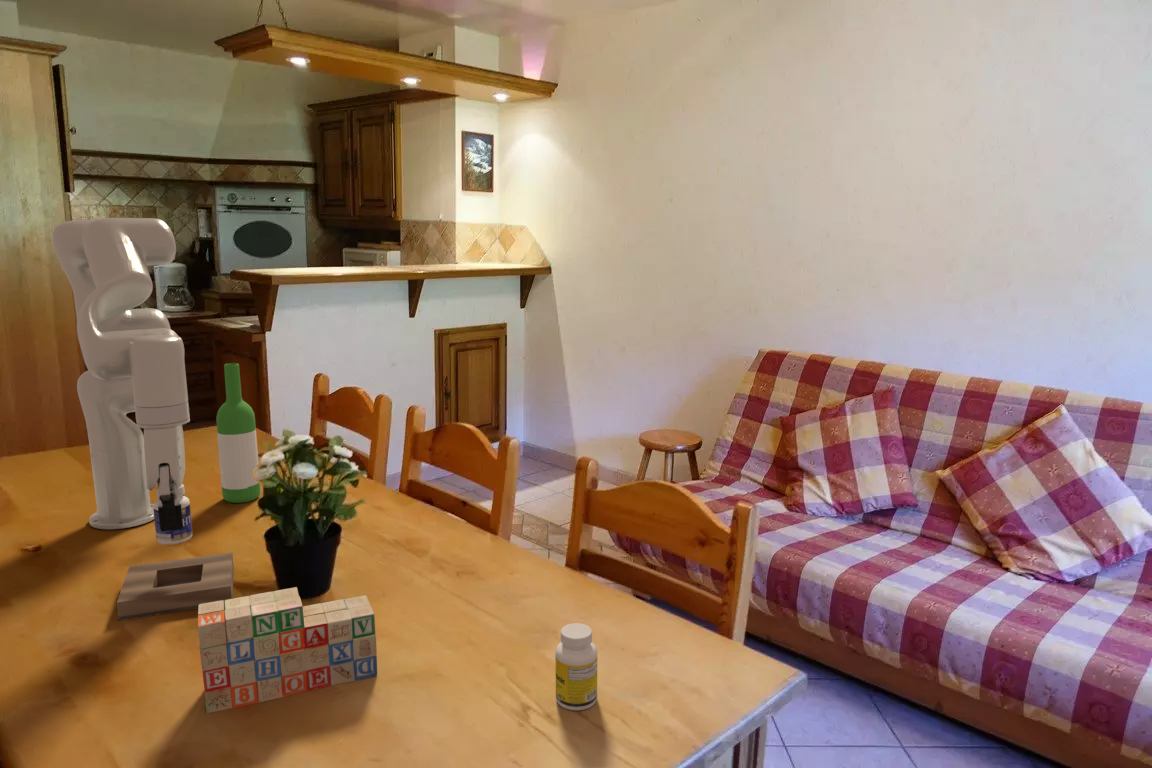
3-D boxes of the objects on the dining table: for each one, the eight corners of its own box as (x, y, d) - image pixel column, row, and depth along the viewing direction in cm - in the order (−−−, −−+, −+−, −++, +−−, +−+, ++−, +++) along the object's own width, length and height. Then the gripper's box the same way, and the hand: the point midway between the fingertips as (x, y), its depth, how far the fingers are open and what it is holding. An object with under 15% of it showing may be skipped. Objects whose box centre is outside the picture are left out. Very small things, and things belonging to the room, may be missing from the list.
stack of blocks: (370, 654, 115) (366, 574, 112) (378, 677, 109) (374, 593, 107) (205, 688, 106) (197, 602, 104) (205, 715, 100) (196, 624, 98)
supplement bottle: (554, 688, 107) (554, 620, 105) (594, 686, 107) (595, 619, 105) (556, 713, 101) (556, 642, 99) (599, 711, 102) (600, 640, 100)
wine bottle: (268, 496, 178) (258, 363, 172) (237, 506, 171) (226, 368, 165) (246, 490, 182) (236, 359, 176) (215, 499, 175) (203, 364, 169)
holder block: (131, 582, 136) (129, 565, 135) (233, 568, 142) (232, 552, 141) (118, 620, 123) (116, 602, 123) (232, 603, 129) (230, 586, 128)
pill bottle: (178, 546, 127) (173, 493, 126) (149, 543, 128) (143, 490, 127) (200, 533, 132) (195, 482, 131) (172, 531, 134) (166, 480, 132)
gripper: (142, 404, 133) (153, 508, 136) (128, 429, 117) (140, 546, 121) (192, 400, 135) (202, 503, 139) (185, 424, 120) (195, 539, 123)
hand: (173, 521), depth 130 cm, fingers closed on pill bottle, 5 cm apart
